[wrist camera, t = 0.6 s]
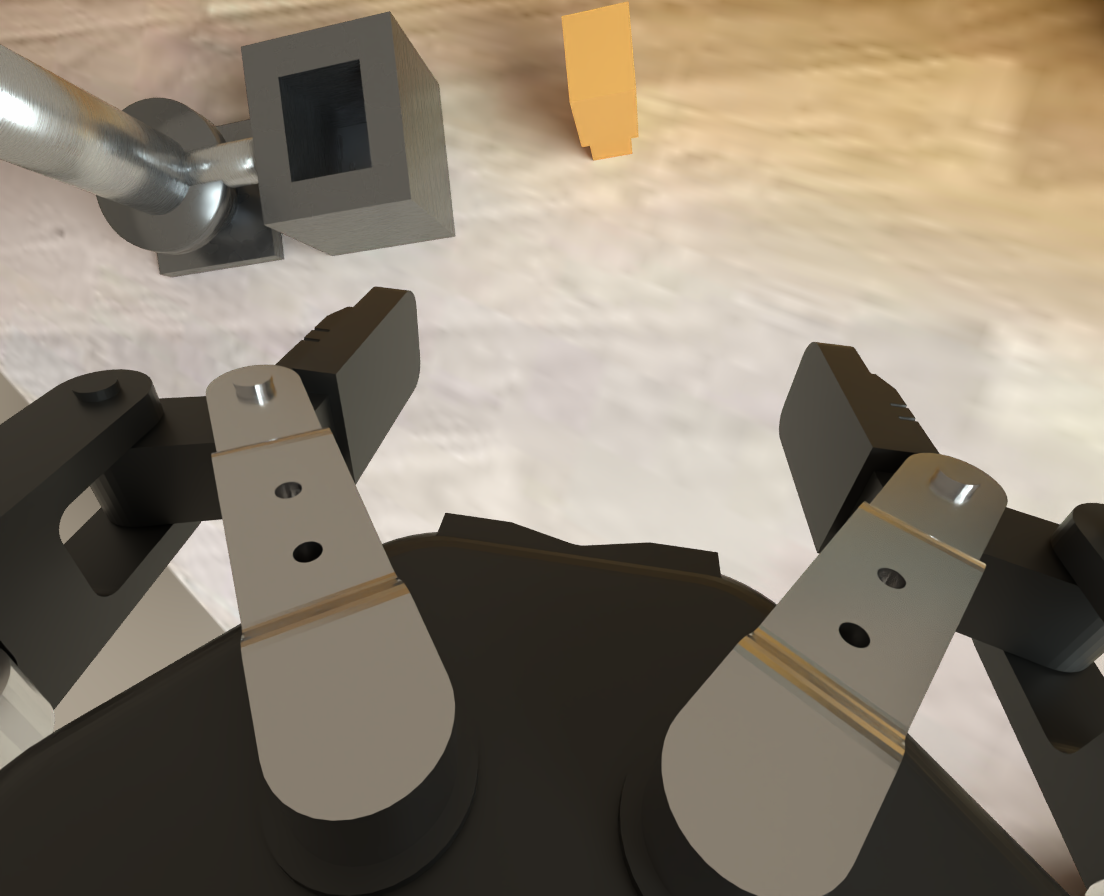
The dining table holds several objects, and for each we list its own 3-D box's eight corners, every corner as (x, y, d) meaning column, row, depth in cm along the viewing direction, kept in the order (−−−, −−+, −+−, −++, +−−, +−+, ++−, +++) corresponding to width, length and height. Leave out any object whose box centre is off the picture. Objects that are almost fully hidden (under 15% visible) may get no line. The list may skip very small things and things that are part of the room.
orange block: (633, 91, 35) (628, 1, 27) (639, 159, 35) (636, 89, 27) (581, 101, 35) (561, 16, 27) (587, 168, 36) (569, 102, 28)
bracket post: (438, 84, 37) (241, -210, 19) (455, 236, 37) (279, 88, 20) (153, 144, 41) (-233, -55, 23) (172, 281, 41) (-189, 191, 23)
